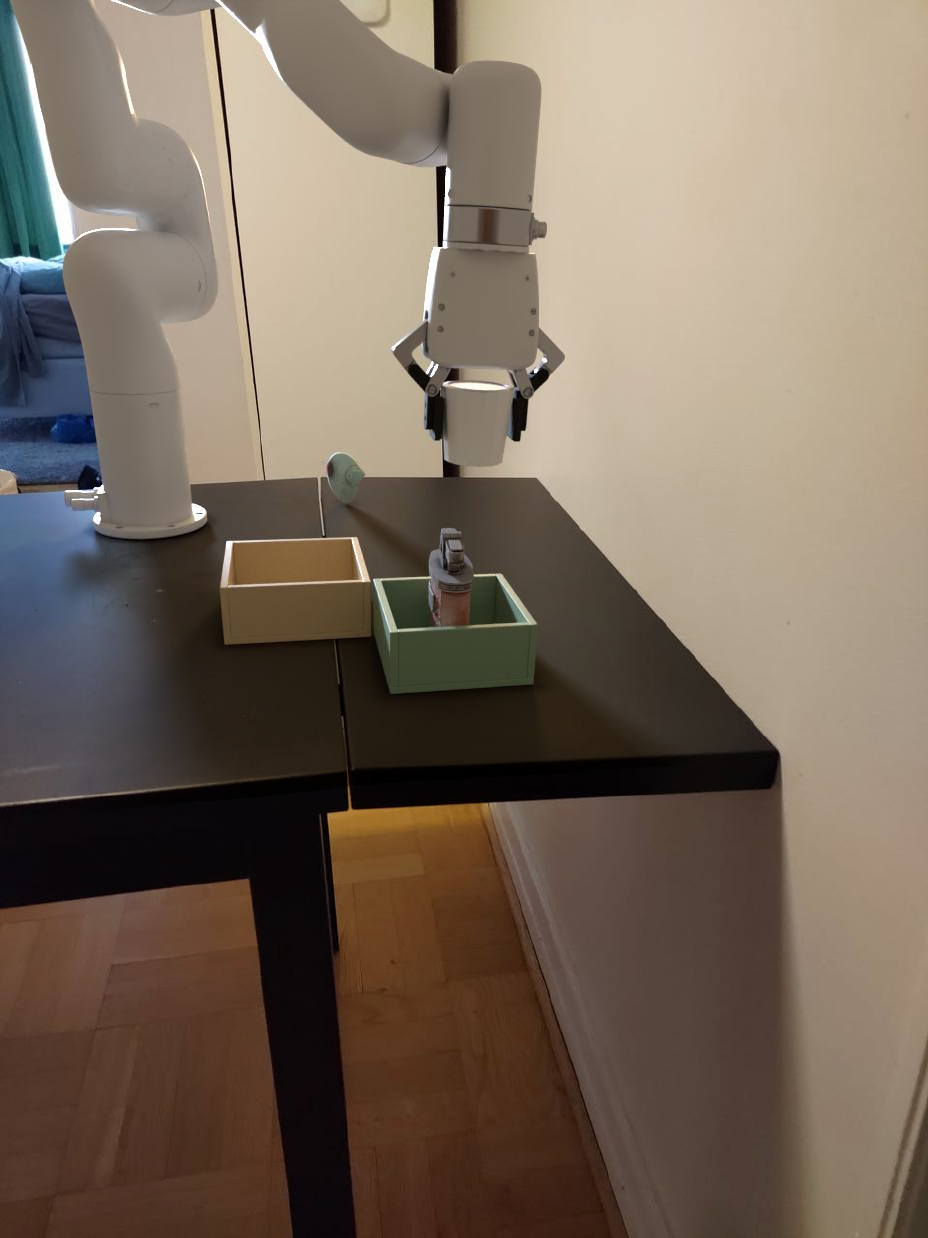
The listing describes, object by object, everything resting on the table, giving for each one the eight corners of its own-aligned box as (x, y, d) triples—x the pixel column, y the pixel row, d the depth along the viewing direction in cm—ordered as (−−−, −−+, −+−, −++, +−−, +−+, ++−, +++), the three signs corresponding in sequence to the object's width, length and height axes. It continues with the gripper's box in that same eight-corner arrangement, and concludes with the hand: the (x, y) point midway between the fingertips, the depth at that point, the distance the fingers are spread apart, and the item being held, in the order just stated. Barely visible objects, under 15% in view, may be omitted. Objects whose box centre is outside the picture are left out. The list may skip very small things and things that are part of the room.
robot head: (371, 509, 109) (370, 457, 106) (341, 513, 107) (340, 460, 104) (345, 494, 115) (344, 444, 112) (317, 497, 113) (315, 447, 110)
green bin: (390, 694, 64) (390, 632, 62) (373, 633, 74) (373, 578, 72) (533, 684, 66) (538, 624, 64) (498, 626, 76) (501, 573, 74)
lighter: (423, 631, 73) (425, 518, 69) (462, 630, 74) (466, 518, 70) (432, 673, 66) (435, 551, 62) (476, 672, 66) (481, 550, 62)
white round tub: (502, 471, 78) (508, 393, 75) (429, 463, 79) (433, 386, 76) (513, 455, 84) (519, 383, 81) (446, 448, 85) (449, 376, 82)
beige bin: (224, 645, 71) (219, 587, 69) (230, 591, 82) (226, 540, 80) (371, 637, 73) (370, 581, 71) (358, 586, 84) (357, 536, 82)
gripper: (568, 238, 79) (549, 431, 86) (381, 226, 75) (378, 428, 82) (596, 239, 72) (573, 448, 79) (392, 225, 68) (388, 446, 76)
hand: (474, 436), depth 81 cm, fingers closed on white round tub, 6 cm apart
